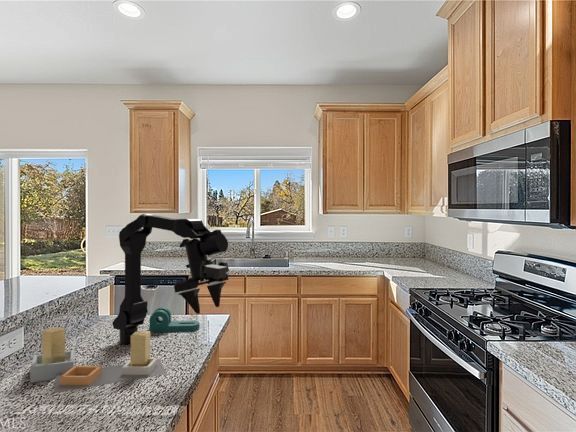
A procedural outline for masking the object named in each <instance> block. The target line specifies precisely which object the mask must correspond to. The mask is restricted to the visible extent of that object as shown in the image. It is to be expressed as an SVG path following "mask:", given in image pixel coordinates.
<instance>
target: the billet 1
mask: <svg viewBox="0 0 576 432" xmlns="http://www.w3.org/2000/svg"><path fill="white" fill-rule="evenodd" d="M65 351H66V328H64V327H58V326H53V327H50V328H46V329H42V330H41V354H42V365H45V364H52V363H59V362H65Z"/></svg>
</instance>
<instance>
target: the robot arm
mask: <svg viewBox="0 0 576 432" xmlns="http://www.w3.org/2000/svg"><path fill="white" fill-rule="evenodd" d="M153 229H159V230H165V231H169V232H173V233H174V234H175V235H177V236H178V237H182V241H181V243H180V245H179V246H178V247H179V248H180V249H181V248H185V252H186V257H187V261H188V264H186V265H185V267H186V269H189V273H190V276H191V277H189V278H188V279H185V280H181V281H177V282H175V284H174V286H173V289H174V293H178V296H181V297H182V298H183V299H184V300H185V301H186V302H187V304H188V305H189V307H191V309H192V310H193V311H194V313H195V314H197V315H198V314H199V315H200V312H201V308H200V303H199V296H198V294H199V292H200V289H201V288H198V287H199V286H202V285H205V284H207V286H206V288H207V290H208V292H209V295H210V297H211V300H212V302H213V304H214V306H215V307H216V308H219V307H220V303H221V294H222V288H223V287H224V286H225V284H226V283H227V281H229V274H228V272H229V271H230V269H229V266H228V262H227V261H220V262H219V263H218V264H213V260H211V259H208V256H209V257H210V256H213V255H218V254H221V253H225V252H227V250H228V248H229V242H228V239H227V237H226V236H225V235H224V233H222V230H221V229H214V230H213V231H210V230H209V228H207V226H206V225H204V222H203V220H202V219H200V218H173V217H167V216H161V215H155V214H153V213H143V214H140V215H139V216H138V217H137V218H136V219H134V220H132V221H131V222H130V223H127V224H126V225H125V227H123V228H122V229H120V231H119V232H118V239H119V246H120V248H121V250H122V251H123V254H124V298H123V300H122V302H121V303H120V305H119V311H118V315H117V316H116V317H115V319H113V321H112V324H111V325H112V327H113V329H114V330H119V332H118V333H119V338H118V339H119V340H117V345H118V346H131V335H132V334H133V333H135V332H136V331H138V326H141V325H144V323H145V319H146V318H147V314H148V313H149V312H148V301H147V300H144V298H143V297H142V276H141V275H142V268H141V267H142V258H141V257H142V252H143V250H144V248H145V247H146V243H147V238H148V237H149V235H150V234H152V232H153Z"/></svg>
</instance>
